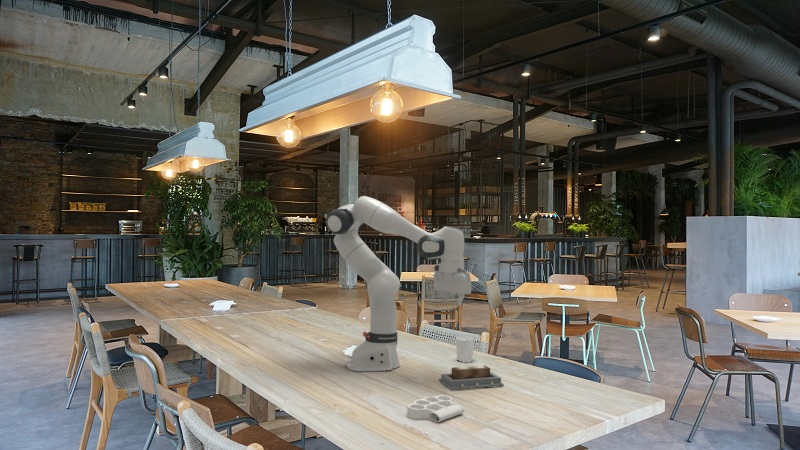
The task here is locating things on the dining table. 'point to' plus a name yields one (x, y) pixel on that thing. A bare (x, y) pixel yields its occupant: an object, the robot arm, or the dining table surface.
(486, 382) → the dark grey rectangular tray
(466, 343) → the white cup
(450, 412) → the light grey compartment holder
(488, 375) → the frame block
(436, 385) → the dining table surface
